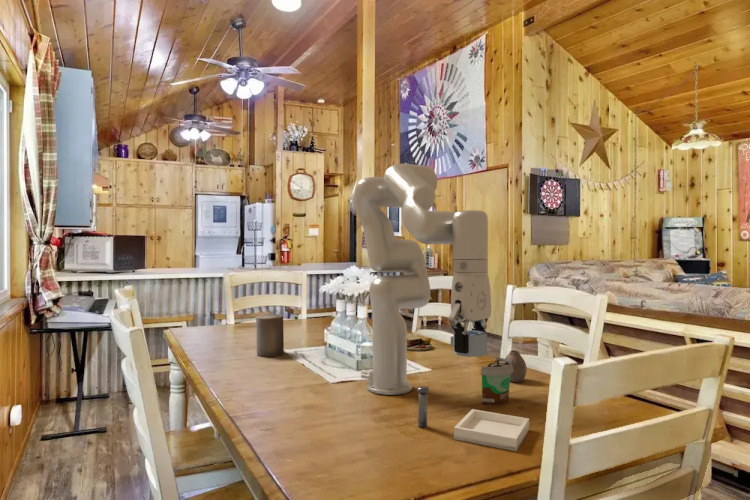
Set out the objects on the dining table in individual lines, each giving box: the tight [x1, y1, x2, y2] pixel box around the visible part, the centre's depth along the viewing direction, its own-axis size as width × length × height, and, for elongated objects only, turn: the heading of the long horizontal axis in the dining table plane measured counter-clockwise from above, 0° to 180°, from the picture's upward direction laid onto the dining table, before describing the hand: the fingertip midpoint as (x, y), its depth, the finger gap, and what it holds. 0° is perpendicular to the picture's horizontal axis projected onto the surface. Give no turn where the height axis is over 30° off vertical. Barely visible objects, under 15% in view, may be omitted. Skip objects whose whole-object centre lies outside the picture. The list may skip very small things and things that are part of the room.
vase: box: [504, 350, 528, 383], centre depth 153 cm, size 7×7×9 cm
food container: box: [480, 356, 513, 406], centre depth 134 cm, size 12×6×10 cm, turn 148°
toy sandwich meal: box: [407, 332, 433, 352], centre depth 197 cm, size 12×14×5 cm
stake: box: [416, 385, 430, 429], centre depth 116 cm, size 3×3×9 cm
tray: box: [453, 408, 530, 452], centre depth 111 cm, size 13×13×2 cm
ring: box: [450, 329, 488, 358], centre depth 112 cm, size 7×8×4 cm
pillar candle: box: [255, 313, 285, 358], centre depth 185 cm, size 10×10×15 cm
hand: (470, 349), depth 112 cm, fingers closed on ring, 6 cm apart
